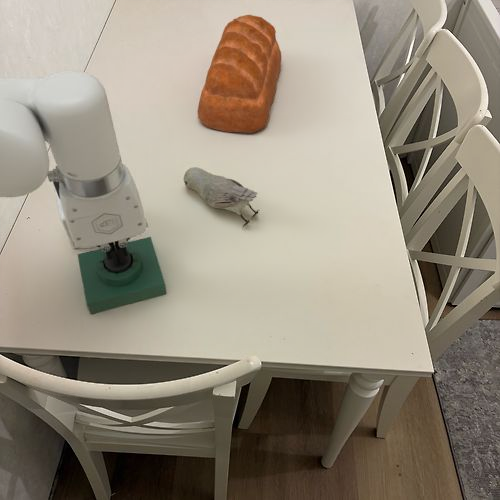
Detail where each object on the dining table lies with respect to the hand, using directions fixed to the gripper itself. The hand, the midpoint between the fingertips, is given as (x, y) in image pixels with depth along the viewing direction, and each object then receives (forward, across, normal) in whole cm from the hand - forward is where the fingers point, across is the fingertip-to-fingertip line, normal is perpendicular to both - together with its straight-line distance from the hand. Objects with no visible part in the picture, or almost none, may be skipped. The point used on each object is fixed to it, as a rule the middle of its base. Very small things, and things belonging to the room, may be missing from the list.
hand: (118, 258), depth 75 cm
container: (+6, -4, +13) cm, 14 cm away
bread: (+6, +36, +44) cm, 57 cm away
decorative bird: (+6, +20, +11) cm, 23 cm away
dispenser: (+6, 0, 0) cm, 6 cm away
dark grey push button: (+2, 0, 0) cm, 2 cm away
